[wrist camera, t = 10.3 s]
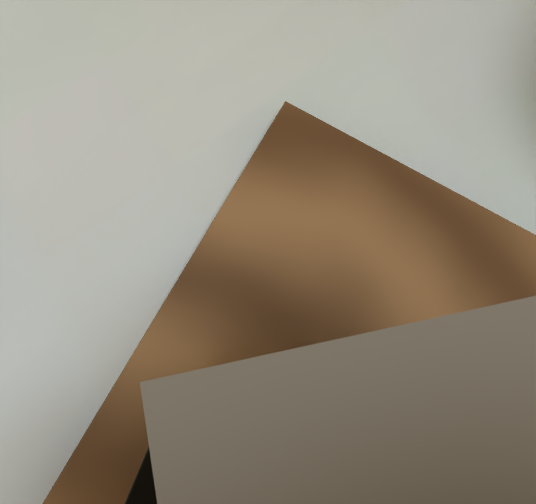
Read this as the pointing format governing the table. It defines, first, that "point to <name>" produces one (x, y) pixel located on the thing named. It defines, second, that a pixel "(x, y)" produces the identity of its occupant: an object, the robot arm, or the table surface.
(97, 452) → the walnut board
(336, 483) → the tall taupe box
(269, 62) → the table surface
